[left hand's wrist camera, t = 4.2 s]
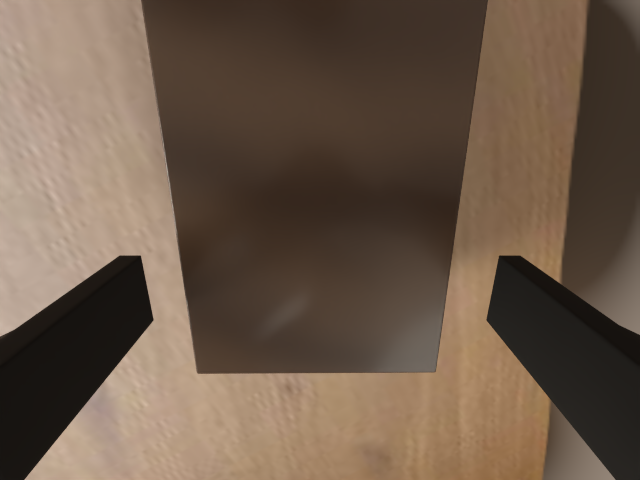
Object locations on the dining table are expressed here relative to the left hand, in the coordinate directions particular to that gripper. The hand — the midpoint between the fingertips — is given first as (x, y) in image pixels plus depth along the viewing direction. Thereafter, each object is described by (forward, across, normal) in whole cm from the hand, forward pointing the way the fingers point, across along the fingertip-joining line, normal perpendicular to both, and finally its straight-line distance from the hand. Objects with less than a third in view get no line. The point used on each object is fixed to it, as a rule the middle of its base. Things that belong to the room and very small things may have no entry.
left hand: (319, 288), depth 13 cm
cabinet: (+10, 0, -4) cm, 10 cm away
